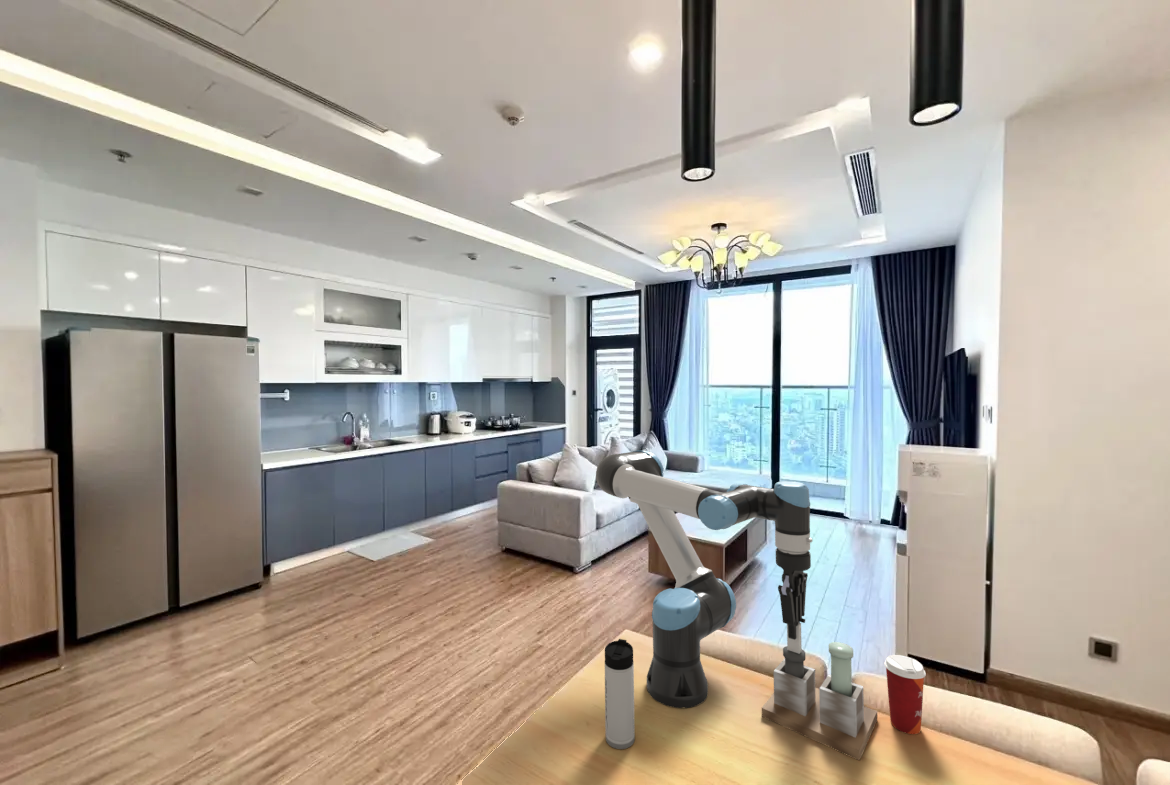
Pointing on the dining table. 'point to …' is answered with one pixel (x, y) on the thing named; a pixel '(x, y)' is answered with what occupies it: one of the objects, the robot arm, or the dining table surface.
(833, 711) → the socket board
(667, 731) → the dining table surface
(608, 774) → the dining table surface
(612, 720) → the travel mug
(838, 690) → the sage plug
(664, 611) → the robot arm
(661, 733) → the dining table surface
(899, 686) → the paper cup
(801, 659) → the gray plug
